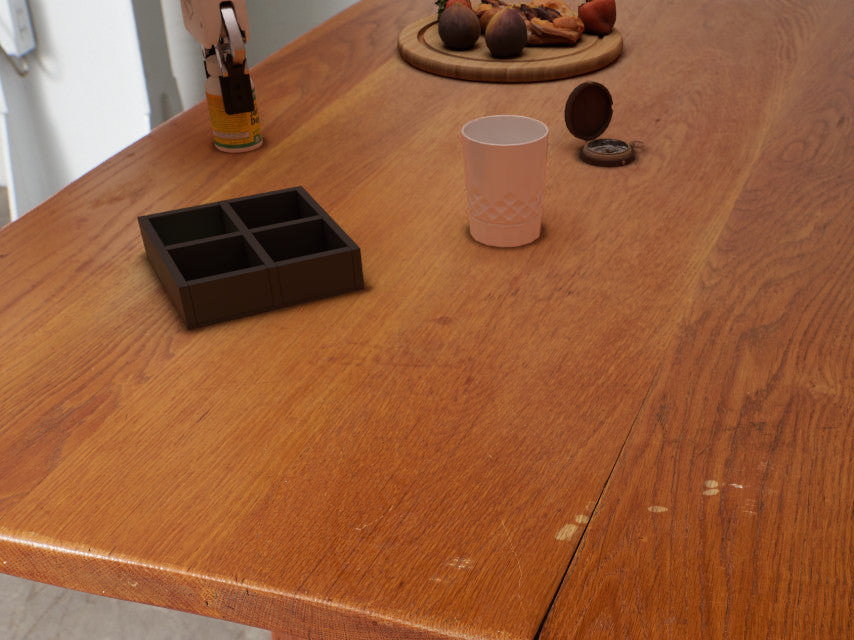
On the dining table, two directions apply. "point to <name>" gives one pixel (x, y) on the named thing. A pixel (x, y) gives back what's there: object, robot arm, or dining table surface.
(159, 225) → the holder
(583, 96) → the compass
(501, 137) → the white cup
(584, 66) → the wooden plate
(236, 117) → the supplement bottle
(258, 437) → the dining table surface
